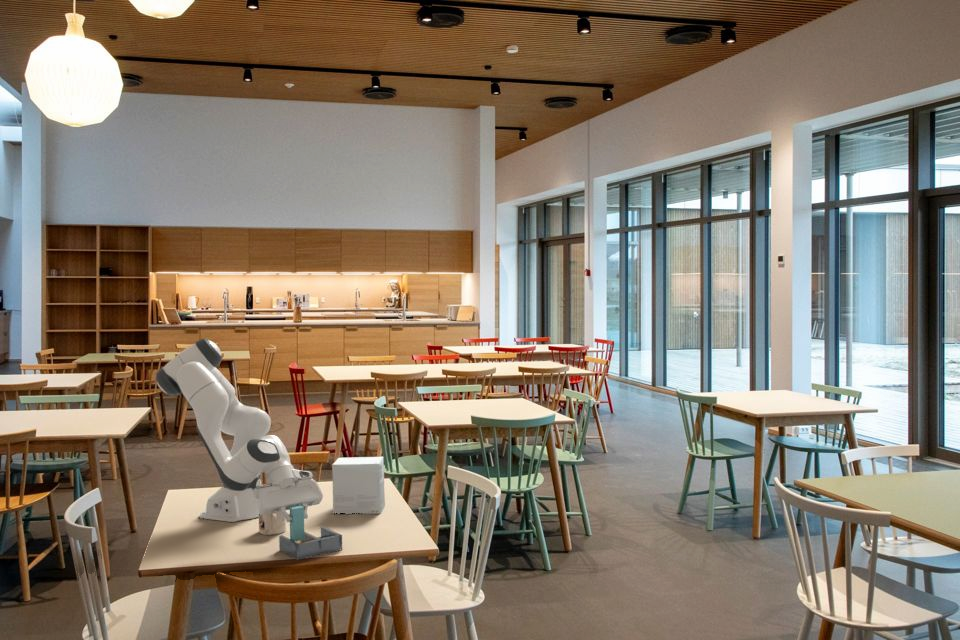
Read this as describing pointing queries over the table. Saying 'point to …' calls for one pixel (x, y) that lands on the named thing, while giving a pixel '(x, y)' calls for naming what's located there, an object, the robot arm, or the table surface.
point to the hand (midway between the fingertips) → (297, 519)
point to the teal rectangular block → (297, 523)
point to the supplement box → (358, 485)
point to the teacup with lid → (271, 523)
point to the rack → (311, 544)
